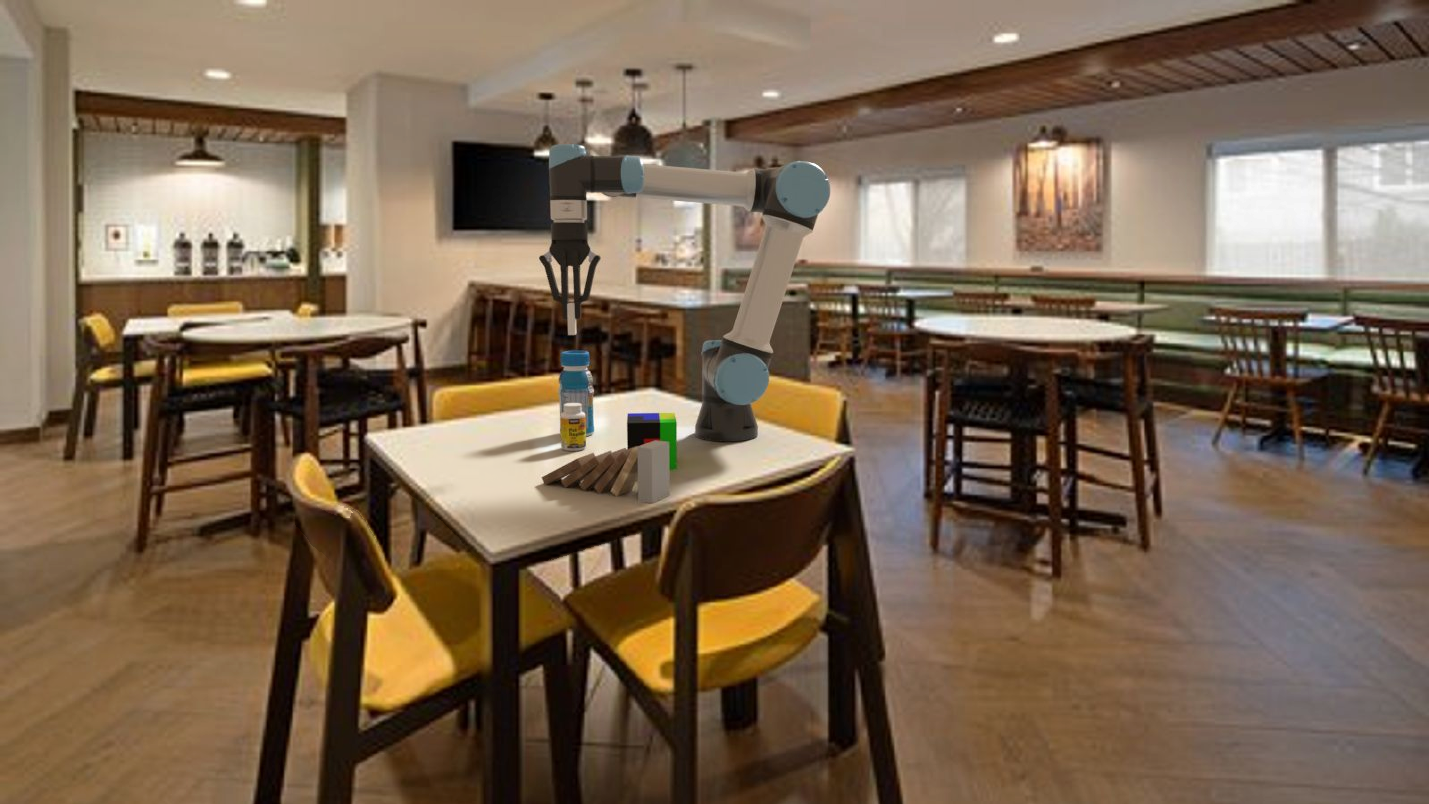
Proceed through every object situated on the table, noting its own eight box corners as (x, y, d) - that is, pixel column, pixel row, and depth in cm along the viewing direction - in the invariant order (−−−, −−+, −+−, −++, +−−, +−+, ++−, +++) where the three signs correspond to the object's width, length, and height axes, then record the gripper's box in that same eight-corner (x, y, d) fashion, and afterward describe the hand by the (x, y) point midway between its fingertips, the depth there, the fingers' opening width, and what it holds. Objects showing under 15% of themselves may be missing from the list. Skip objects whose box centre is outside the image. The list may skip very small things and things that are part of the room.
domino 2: (560, 480, 167) (595, 456, 162) (576, 474, 171) (610, 450, 166) (564, 488, 167) (599, 463, 162) (580, 481, 171) (614, 457, 166)
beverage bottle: (570, 439, 206) (568, 355, 203) (553, 433, 213) (550, 351, 209) (601, 434, 212) (599, 352, 208) (583, 429, 218) (581, 349, 214)
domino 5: (610, 491, 162) (632, 448, 158) (625, 484, 166) (647, 442, 162) (616, 496, 161) (639, 453, 157) (631, 489, 165) (653, 448, 162)
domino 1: (541, 477, 169) (577, 458, 164) (557, 471, 173) (593, 452, 168) (544, 484, 169) (581, 466, 164) (561, 478, 173) (597, 460, 168)
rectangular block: (638, 501, 158) (637, 446, 156) (655, 492, 164) (655, 440, 162) (652, 503, 157) (651, 448, 155) (669, 494, 162) (669, 442, 160)
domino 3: (578, 484, 165) (610, 453, 160) (594, 478, 169) (625, 447, 165) (583, 491, 164) (615, 460, 160) (599, 484, 169) (630, 454, 164)
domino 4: (593, 487, 163) (621, 451, 159) (609, 481, 168) (637, 445, 163) (599, 493, 163) (627, 457, 158) (614, 487, 167) (642, 451, 163)
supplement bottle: (567, 453, 194) (566, 407, 192) (557, 448, 198) (555, 403, 196) (590, 449, 197) (589, 404, 195) (580, 444, 201) (578, 401, 199)
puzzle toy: (628, 459, 189) (627, 413, 187) (674, 458, 190) (674, 412, 188) (627, 471, 179) (627, 423, 177) (676, 470, 180) (676, 422, 178)
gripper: (534, 221, 180) (538, 336, 184) (598, 221, 180) (601, 336, 184) (540, 222, 187) (544, 332, 191) (602, 222, 187) (604, 332, 192)
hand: (572, 334), depth 188 cm, fingers closed
